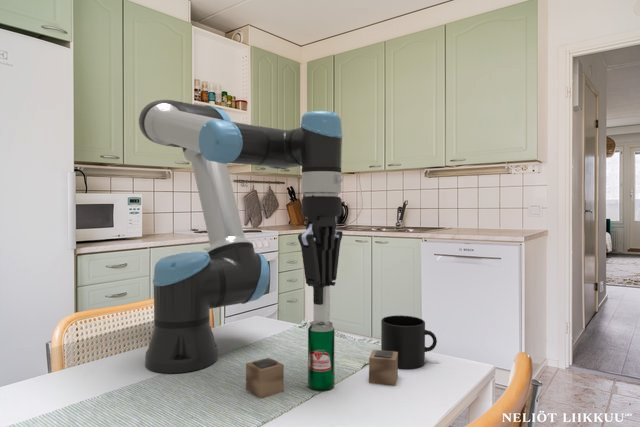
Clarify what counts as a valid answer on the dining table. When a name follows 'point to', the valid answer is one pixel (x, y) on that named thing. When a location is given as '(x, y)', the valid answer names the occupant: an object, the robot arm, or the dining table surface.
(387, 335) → the mug
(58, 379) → the dining table surface
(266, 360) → the walnut block
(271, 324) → the dining table surface
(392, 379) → the walnut block
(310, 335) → the soda can
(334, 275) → the robot arm
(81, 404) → the dining table surface
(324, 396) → the dining table surface
